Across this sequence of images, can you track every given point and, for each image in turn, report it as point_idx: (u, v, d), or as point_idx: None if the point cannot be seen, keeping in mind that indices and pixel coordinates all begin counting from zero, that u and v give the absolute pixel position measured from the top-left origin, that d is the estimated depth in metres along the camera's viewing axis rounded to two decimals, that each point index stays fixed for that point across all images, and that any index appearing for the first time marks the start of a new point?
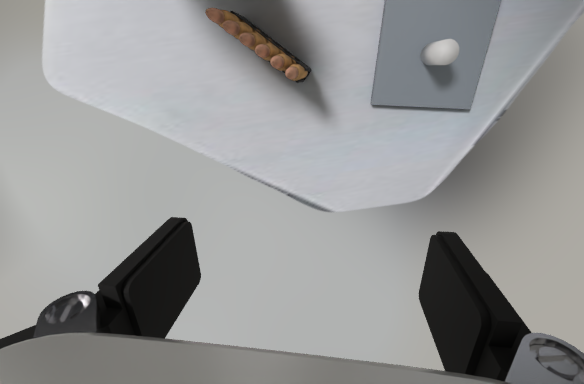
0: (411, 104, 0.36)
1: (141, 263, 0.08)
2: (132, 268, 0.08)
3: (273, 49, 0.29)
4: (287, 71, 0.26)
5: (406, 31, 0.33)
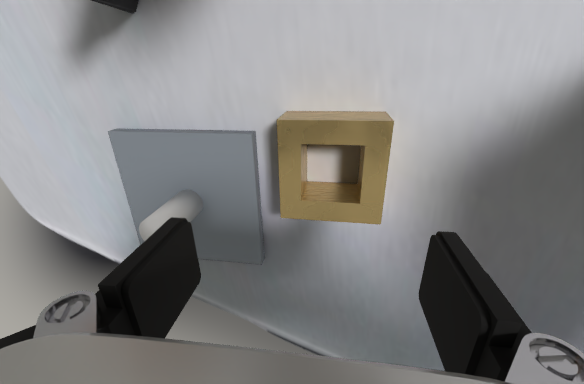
0: (126, 187, 0.25)
1: (141, 263, 0.08)
2: (132, 268, 0.08)
3: None
4: None
5: (209, 167, 0.23)
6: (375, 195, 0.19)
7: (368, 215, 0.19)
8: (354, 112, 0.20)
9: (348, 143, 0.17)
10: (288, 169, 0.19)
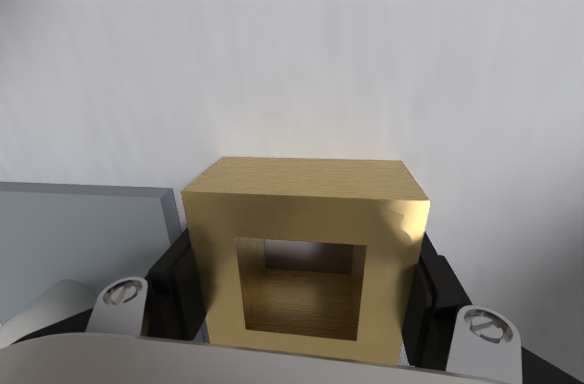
0: None
1: (184, 252, 0.09)
2: (177, 256, 0.09)
3: None
4: None
5: (97, 248, 0.13)
6: (386, 330, 0.09)
7: (372, 360, 0.10)
8: (343, 162, 0.11)
9: (331, 240, 0.08)
10: (216, 279, 0.10)
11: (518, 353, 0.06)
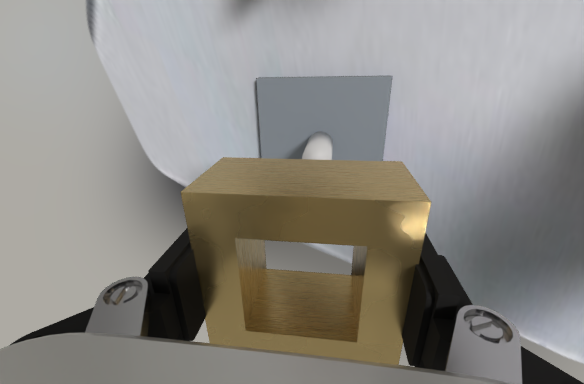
0: (262, 131, 0.28)
1: (184, 252, 0.09)
2: (177, 256, 0.09)
3: None
4: None
5: (346, 109, 0.26)
6: (387, 331, 0.09)
7: (373, 361, 0.10)
8: (344, 163, 0.10)
9: (332, 241, 0.08)
10: (216, 281, 0.10)
11: (517, 353, 0.06)
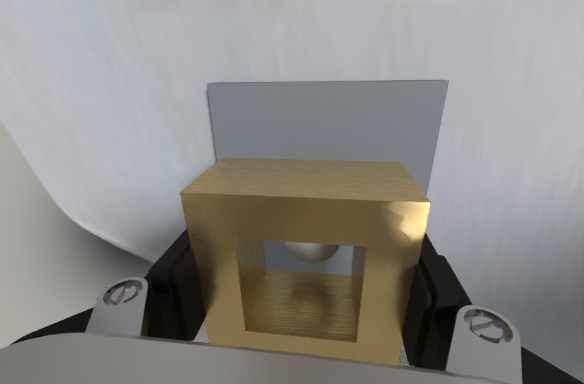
0: None
1: (184, 252, 0.09)
2: (177, 256, 0.09)
3: None
4: None
5: (362, 138, 0.15)
6: (386, 332, 0.09)
7: (372, 361, 0.10)
8: (343, 163, 0.11)
9: (331, 241, 0.08)
10: (216, 281, 0.10)
11: (518, 353, 0.06)
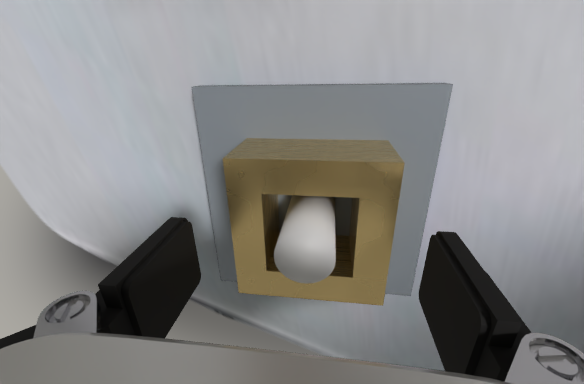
0: (209, 180, 0.16)
1: (141, 263, 0.08)
2: (132, 268, 0.08)
3: None
4: None
5: None
6: (375, 267, 0.12)
7: (365, 293, 0.13)
8: (343, 141, 0.13)
9: (333, 194, 0.11)
10: (245, 229, 0.13)
11: None
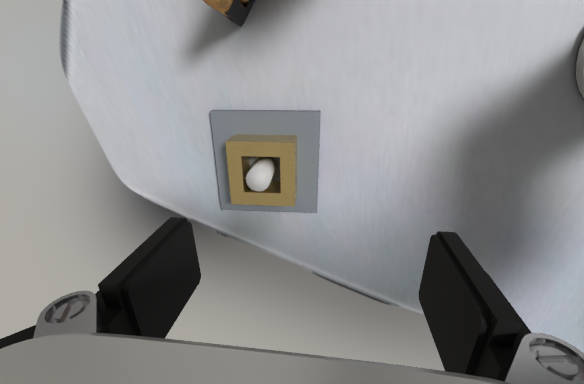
0: (216, 154, 0.33)
1: (141, 263, 0.08)
2: (132, 268, 0.08)
3: None
4: None
5: None
6: (289, 187, 0.30)
7: (286, 201, 0.30)
8: (277, 135, 0.31)
9: (269, 155, 0.28)
10: (234, 172, 0.30)
11: None
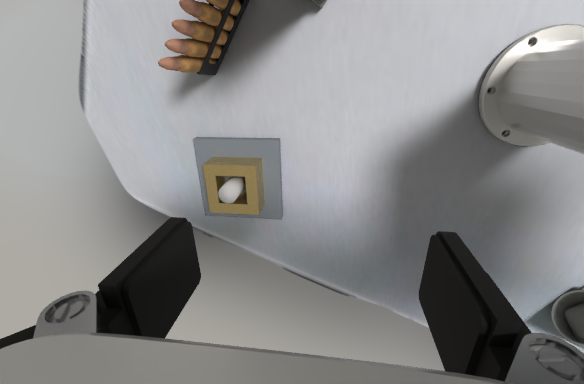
0: (200, 172, 0.41)
1: (141, 263, 0.08)
2: (132, 268, 0.08)
3: (198, 38, 0.27)
4: (162, 61, 0.25)
5: None
6: (253, 200, 0.38)
7: (252, 210, 0.38)
8: (246, 158, 0.39)
9: (237, 175, 0.36)
10: (211, 187, 0.38)
11: None
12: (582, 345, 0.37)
